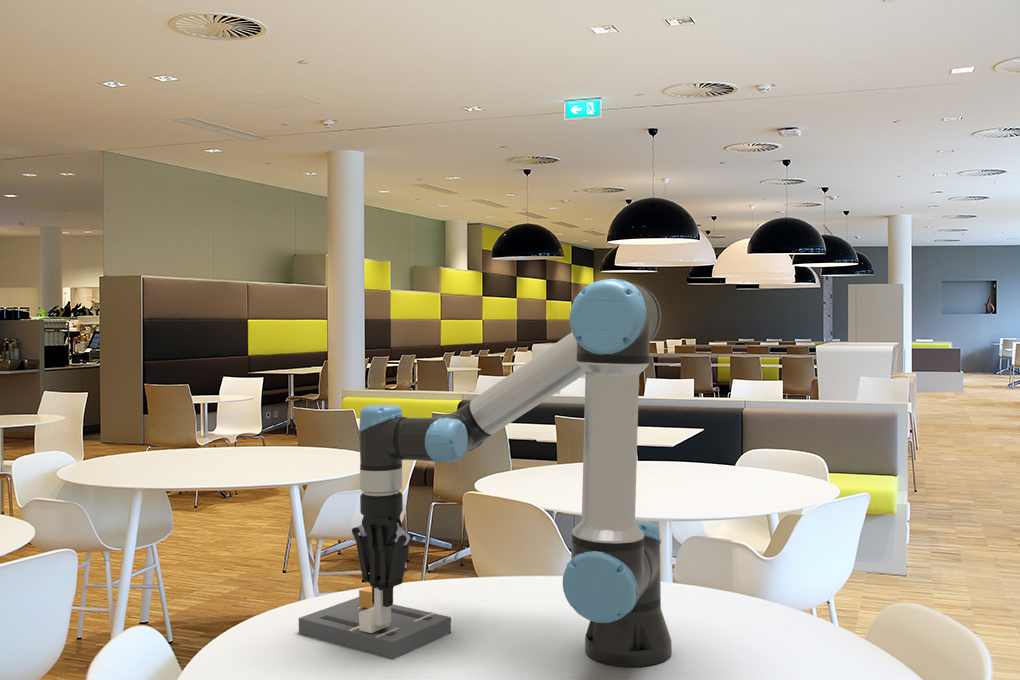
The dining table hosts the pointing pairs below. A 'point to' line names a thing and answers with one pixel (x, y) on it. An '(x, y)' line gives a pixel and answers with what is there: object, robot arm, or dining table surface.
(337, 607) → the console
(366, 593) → the fader orange
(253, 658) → the dining table surface
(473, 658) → the dining table surface
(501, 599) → the dining table surface
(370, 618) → the fader cream
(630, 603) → the robot arm
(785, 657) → the dining table surface
